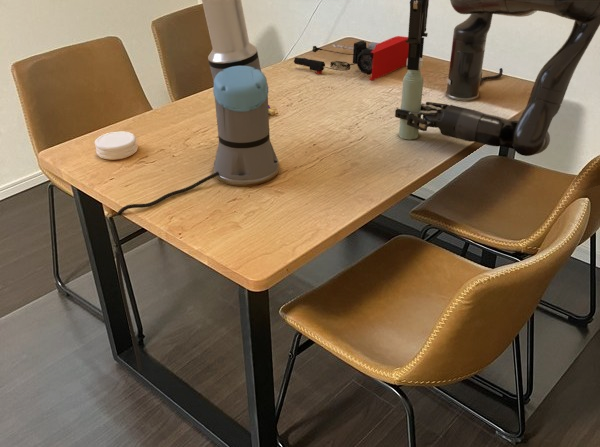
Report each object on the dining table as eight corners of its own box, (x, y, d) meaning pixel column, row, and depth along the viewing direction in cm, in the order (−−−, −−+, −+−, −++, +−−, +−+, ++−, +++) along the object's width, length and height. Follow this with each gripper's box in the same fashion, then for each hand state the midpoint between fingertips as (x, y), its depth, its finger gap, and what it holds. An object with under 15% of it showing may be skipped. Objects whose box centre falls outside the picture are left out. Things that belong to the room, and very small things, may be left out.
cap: (411, 69, 150) (411, 62, 149) (403, 64, 153) (404, 57, 152) (425, 67, 151) (425, 60, 150) (417, 62, 154) (418, 55, 153)
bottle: (401, 140, 159) (407, 64, 149) (396, 132, 163) (402, 58, 153) (420, 139, 160) (427, 63, 149) (415, 131, 164) (422, 57, 153)
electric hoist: (292, 37, 203) (372, 52, 188) (336, 23, 221) (412, 36, 206) (292, 68, 208) (370, 85, 193) (335, 52, 226) (409, 66, 211)
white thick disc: (108, 164, 149) (105, 151, 148) (90, 151, 156) (87, 138, 154) (145, 152, 155) (143, 139, 153) (126, 139, 161) (123, 127, 159)
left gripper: (413, -43, 147) (405, 55, 159) (399, -30, 133) (392, 76, 146) (445, -42, 145) (435, 57, 157) (434, -28, 131) (424, 79, 144)
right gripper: (477, 100, 154) (414, 87, 162) (453, 119, 144) (388, 104, 152) (472, 128, 158) (412, 113, 166) (449, 148, 148) (386, 132, 156)
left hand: (414, 66), depth 152 cm, fingers closed on cap, 4 cm apart
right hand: (401, 109), depth 159 cm, fingers closed on bottle, 5 cm apart
